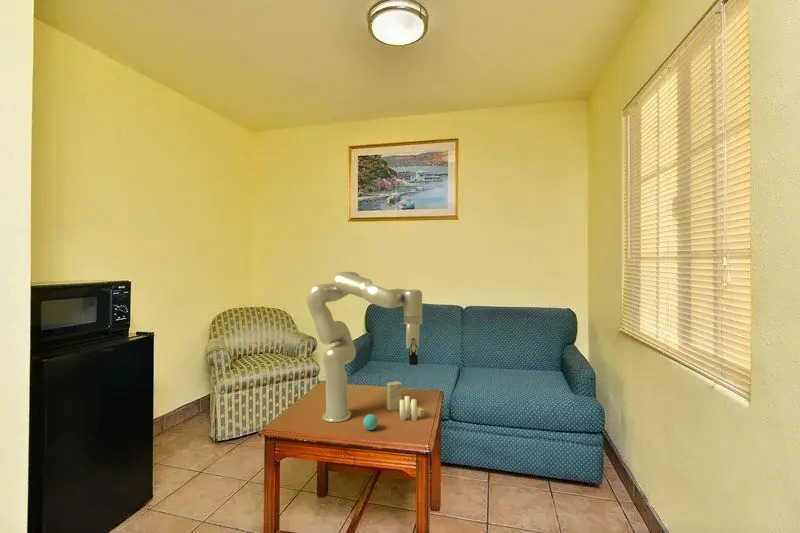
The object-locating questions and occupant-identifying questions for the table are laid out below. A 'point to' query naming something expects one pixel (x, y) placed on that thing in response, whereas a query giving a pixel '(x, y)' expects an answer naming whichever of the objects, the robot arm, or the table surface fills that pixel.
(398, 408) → the skincare box
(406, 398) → the pin
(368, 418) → the ball
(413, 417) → the pin
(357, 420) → the table surface
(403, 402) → the pin front
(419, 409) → the back rail
